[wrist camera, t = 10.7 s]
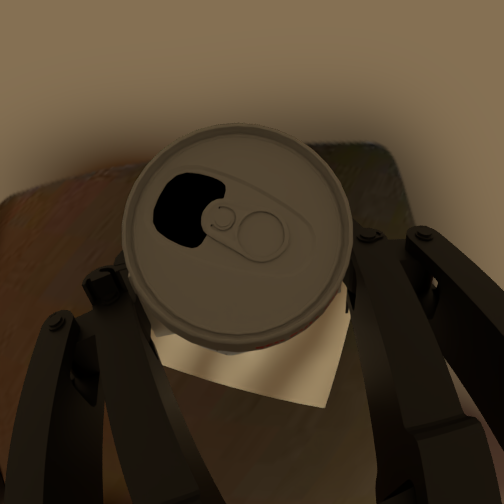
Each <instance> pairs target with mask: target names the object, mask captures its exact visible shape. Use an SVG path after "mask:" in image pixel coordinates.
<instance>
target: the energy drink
mask: <svg viewBox="0 0 504 504" xmlns="http://www.w3.org/2000/svg"><path fill="white" fill-rule="evenodd" d="M352 246H353V221H352V216H351V211H350V207H349V202H348V199H347V197H346V195H345V192H344V190H343V188H342V186H341V183H340V181H339V180H338V178H337V177H336V175H335V174H334V172H333V171H332V170H331V168H330V167H329V165H328V164H327V163H326V162H325V161H324V160H323V159H322V158H321V157H320V156H319V155H318V154H317V153H316V152H315V151H314V150H313V149H311V148H310V147H308V146H307V145H305V144H304V143H302V142H301V141H299V140H298V139H296V138H294V137H292V136H290V135H288V134H286V133H283V132H281V131H279V130H276V129H273V128H269V127H265V126H260V125H255V124H243V123H232V124H220V125H214V126H211V127H207V128H203V129H200V130H196V131H194V132H192V133H189V134H187V135H185V136H183V137H181V138H179V139H177V140H176V141H174V142H173V143H171V144H170V145H168V146H167V147H166V148H164V149H163V150H161V151H160V152H159V153H158V154H157V155H156V156H155V157H154V158H153V159H152V160H151V161H150V162H149V163H148V164H147V165H146V167H145V168H144V170H143V171H142V173H141V174H140V176H139V177H138V178H137V180H136V181H135V183H134V185H133V188H132V190H131V192H130V195H129V197H128V199H127V202H126V206H125V211H124V216H123V221H122V247H123V252H124V257H125V262H126V267H127V269H128V271H129V274H130V277H131V279H132V281H133V284H134V286H135V288H136V290H137V292H138V295H139V297H140V298H141V300H142V301H143V302H144V304H145V305H146V307H147V308H148V309H149V311H150V312H151V313H152V315H153V316H154V317H155V318H156V319H157V320H159V321H160V322H161V323H162V324H163V325H164V326H165V327H167V328H168V329H169V330H170V331H171V332H173V333H175V334H177V335H178V336H180V337H182V338H184V339H185V340H187V341H189V342H191V343H193V344H196V345H200V346H203V347H206V348H209V349H213V350H219V351H229V352H246V351H255V350H263V349H266V348H269V347H272V346H275V345H278V344H281V343H284V342H286V341H288V340H290V339H291V338H293V337H295V336H296V335H298V334H300V333H301V332H303V331H305V330H306V329H307V328H308V327H309V326H311V325H312V324H313V323H314V322H315V321H316V320H317V319H318V318H319V317H320V316H321V315H323V313H324V312H325V310H326V309H327V308H328V306H329V305H330V303H331V302H332V301H333V299H334V298H335V296H336V295H337V292H338V290H339V288H340V285H341V283H342V281H343V278H344V276H345V273H346V270H347V268H348V265H349V261H350V256H351V251H352Z"/></svg>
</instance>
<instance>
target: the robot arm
mask: <svg viewBox="0 0 504 504" xmlns="http://www.w3.org/2000/svg"><path fill="white" fill-rule="evenodd" d="M352 221H353V246H352V251H351V256H350V261H349V265H348V268H347V270H346V273H345V276H344V278H343V283H344V284H345V285H346V287H347V295H346V310H345V313H348V310H349V311H350V315H351V320H352V324H353V329H354V333H355V338H356V342H357V347H358V352H359V357H360V362H361V367H362V372H363V377H364V382H365V388H366V393H367V399H368V405H369V411H370V417H371V423H372V430H373V436H374V443H375V451H376V458H377V478H376V503H377V504H502V502H501V497H500V492H499V486H498V481H497V477H496V473H495V468H494V464H493V460H492V456H491V453H490V449H489V445H488V442H487V438H486V435H485V431H484V429H483V427H482V425H481V422H480V421H478V420H477V418H475V417H471V416H466V415H465V414H464V412H463V410H462V408H461V404H460V402H459V398H458V395H457V393H456V390H455V387H454V384H453V381H452V379H451V376H450V373H449V370H448V368H447V365H446V362H445V360H444V358H445V359H446V361H447V362H448V364H449V365H450V366H451V368H452V369H453V371H454V372H455V374H456V375H457V376H458V378H459V380H460V381H461V383H462V384H463V386H464V387H465V389H466V390H467V392H468V393H469V395H470V396H471V398H472V399H473V401H474V403H475V404H476V406H477V407H478V409H479V411H480V412H481V414H482V416H483V417H484V419H485V421H486V422H487V424H488V425H489V427H490V429H491V430H492V432H493V434H494V436H495V437H496V439H497V441H498V443H499V444H500V446H501V447H502V449H503V451H504V291H503V290H502V289H501V288H500V287H499V286H498V285H497V284H496V283H495V282H494V281H493V280H492V279H491V278H490V277H489V276H488V275H487V274H486V273H485V272H483V271H482V270H481V269H480V268H479V267H478V266H477V265H476V264H475V263H474V262H473V261H471V260H470V259H469V258H468V257H467V256H466V255H464V253H462V252H461V251H460V250H459V249H458V248H457V247H455V246H454V245H453V244H452V243H451V242H449V241H448V240H447V239H446V238H445V237H444V236H442V235H441V234H440V233H438V232H437V231H436V230H434V229H432V228H429V227H427V226H414V227H411V228H409V229H408V230H407V234H406V239H397V240H388V239H387V237H386V236H385V235H384V234H383V232H381V231H379V230H376V229H372V228H363V227H362V226H361V225H360V224H359V223H358V222H356V221H355V220H354V219H353V218H352ZM433 277H434V278H435V279H436V280H437V281H438V285H437V288H436V287H435V286H434V285H433V284H432V281H433ZM82 287H83V288H84V290H85V292H86V294H87V296H88V298H89V300H90V302H91V303H92V305H93V310H91V311H90V312H88V313H86V314H83V315H81V316H79V317H77V318H74V316H73V314H72V313H71V311H68V310H61V311H58V312H55V313H53V314H52V315H50V316H49V317H48V318H47V320H46V321H45V322H44V324H43V325H42V328H41V331H40V333H39V336H38V339H37V342H36V345H35V348H34V351H33V354H32V357H31V361H30V364H29V367H28V371H27V374H26V378H25V381H24V385H23V389H22V392H21V396H20V400H19V405H18V409H17V413H16V418H15V423H14V428H13V433H12V438H11V444H10V450H9V457H8V464H7V472H6V481H5V487H4V483H3V480H2V477H1V474H0V504H3V503H4V504H103V482H102V443H103V417H104V401H105V402H106V407H107V412H108V417H109V421H110V426H111V430H112V434H113V438H114V442H115V446H116V450H117V454H118V457H119V461H120V464H121V468H122V471H123V475H124V478H125V481H126V484H127V487H128V490H129V493H130V496H131V499H132V502H133V504H226V503H225V501H224V499H223V498H222V496H221V494H220V492H219V490H218V488H217V486H216V485H215V483H214V481H213V479H212V477H211V475H210V473H209V471H208V469H207V467H206V465H205V463H204V461H203V459H202V457H201V455H200V453H199V451H198V449H197V447H196V445H195V442H194V440H193V438H192V436H191V434H190V432H189V429H188V427H187V425H186V423H185V420H184V418H183V416H182V413H181V411H180V409H179V406H178V404H177V402H176V399H175V397H174V394H173V392H172V389H171V387H170V384H169V382H168V379H167V376H166V374H165V371H164V369H163V366H162V363H161V360H160V358H159V355H158V352H157V349H156V346H155V344H154V342H153V340H152V338H151V328H152V330H153V332H154V334H155V336H156V338H157V337H162V336H167V335H172V334H175V333H173V332H171V331H170V330H169V329H168V328H167V327H165V326H164V325H163V324H162V323H161V322H160V321H159V320H157V319H156V318H155V317H154V316H153V315H152V313H151V312H150V311H149V309H148V308H147V307H146V305H145V304H144V302H143V301H142V300H141V298H140V297H139V295H138V292H137V290H136V288H135V286H134V284H133V281H132V279H131V277H130V274H129V271H128V269H127V267H126V262H125V257H124V252H123V250H122V251H121V252H120V254H119V255H118V256H117V257H116V259H115V262H114V265H110V266H103V267H100V268H98V269H96V270H94V271H92V272H91V273H90V274H88V275H87V276H86V278H85V279H84V280H83V283H82ZM338 293H341V285H340V288H339V290H338V292H337V294H338ZM443 356H444V357H443ZM70 372H71V374H70Z"/></svg>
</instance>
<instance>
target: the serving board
mask: <svg viewBox="0 0 504 504" xmlns="http://www.w3.org/2000/svg"><path fill="white" fill-rule="evenodd" d="M346 295H347V287H346V285H345V284H344V283H343V281H342V283H341V293H338V294H337V295H336V296H335V298H334V299H333V301H332V302H331V303H330V305H329V306H328V308H327V309H326V310H325V312H324V313H323V315H321V316H320V317H319V318H318V319H317V320H316V321H315V322H314V323H313V324H312V325H311V326H309V327H308V328H307V329H306V330H305V331H303V332H301V333H300V334H298V335H296V336H295V337H293V338H291V339H290V340H288V341H286V342H284V343H281V344H278V345H275V346H272V347H269V348H266V349H263V350H255V351H249V352H245V353H241V354H236V355H232V356H230V354H229V356H228V355H225V354H221V353H218V352H215V351H211V350H208V349H205V348H202V347H201V346H199V345H196V344H193V343H191V342H189V341H187V340H185V339H184V338H182V337H180V336H178V335H177V334H172V335H167V336H162V337H157V338H156V336H155V334H154V332H153V330H152V328H151V338H152V340H153V342H154V344H155V346H156V349H157V352H158V355H159V358H160V360H161V363H162V365H164V366H167V367H170V368H173V369H176V370H179V371H182V372H185V373H188V374H191V375H194V376H197V377H200V378H203V379H207V380H210V381H213V382H216V383H220V384H223V385H227V386H230V387H234V388H238V389H241V390H245V391H249V392H253V393H257V394H261V395H265V396H269V397H273V398H277V399H282V400H286V401H291V402H295V403H300V404H305V405H310V406H316V407H321V408H325V406H326V402H327V399H328V396H329V393H330V390H331V387H332V383H333V380H334V377H335V373H336V370H337V366H338V363H339V359H340V356H341V352H342V348H343V345H344V341H345V337H346V333H347V329H348V325H349V321H350V317H351V315H350V311H349V310H348V313H345V310H346Z"/></svg>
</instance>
